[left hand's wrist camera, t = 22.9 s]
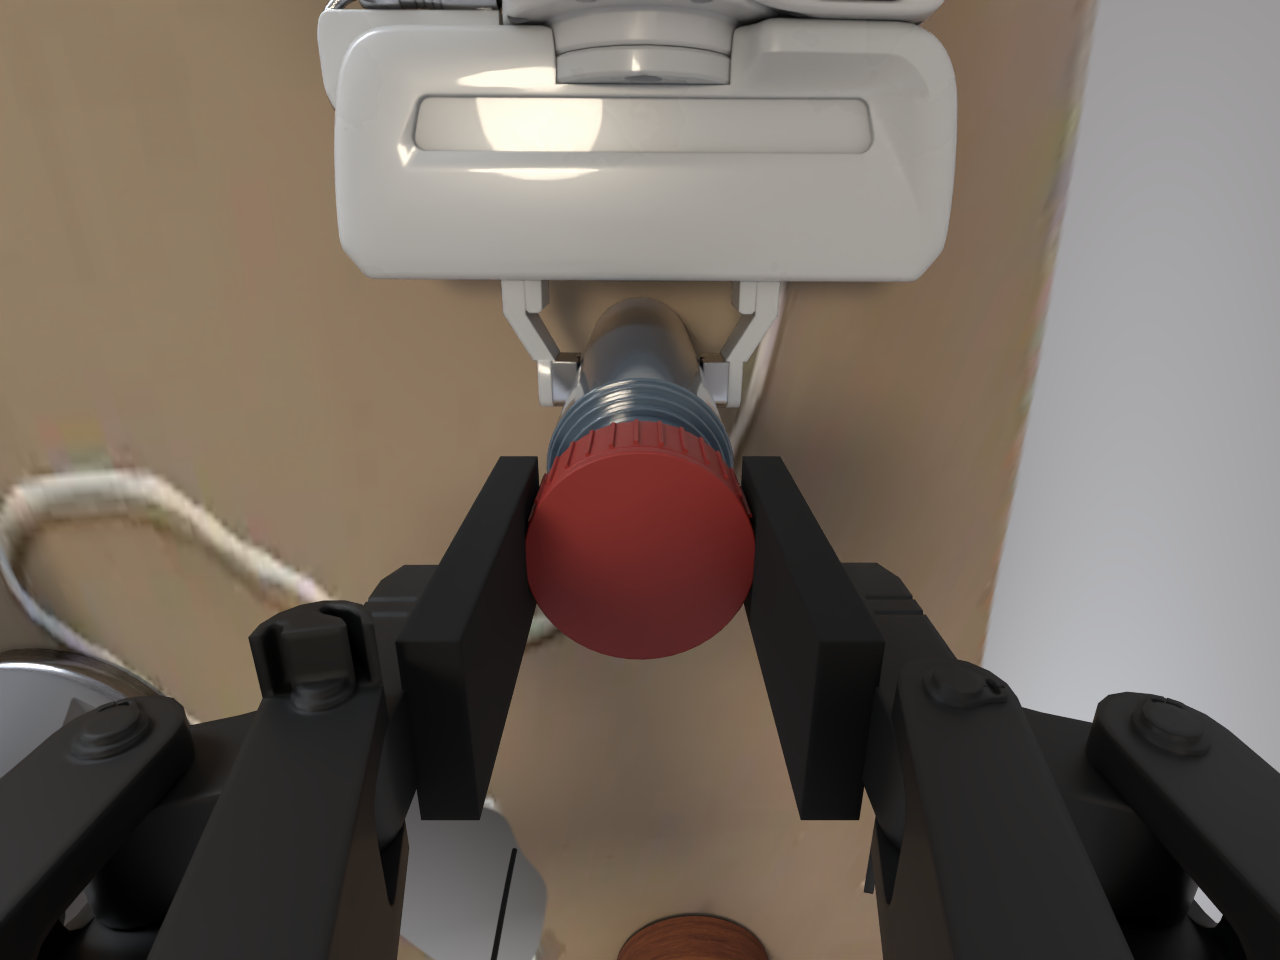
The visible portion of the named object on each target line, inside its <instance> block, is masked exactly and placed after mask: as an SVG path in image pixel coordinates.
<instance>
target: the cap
mask: <svg viewBox="0 0 1280 960" xmlns="http://www.w3.org/2000/svg"><path fill="white" fill-rule="evenodd" d="M751 517H752V514H751V512H750V509H749V506H748V503H747V501H746V498H745V495H744V492H743V490H742V487H741V486H739V484H738V481H737V478H736V475H735V473H734V470H733V468H732V467H731V468H729V467H728V466H727V464H726V463H725V462H724V460H723V458H722V455H721V453H720V452H719V451H717V452H716V451H715V450H714V449H713V448H712V447H710V446H709V445H708V444H707V443H705V441H704V438H702V437H700V438H698V437H696V436H695V435H693V434H691V433H689V432H687V431H685V430H684V428H683V427H681V426H680V428H678V427H674V426H671V425H667V424H663V423H662V421H657V422H650V421H639V420H638V419H634V421H632V422H622V423H618V424H616V423H615V422H613V423H611V425H609V426H606V427H603V428H601V429H598V430H595V431H594V429H593V430H590V432H589V434H588V435H586V436H584V437H582V438H581V439H579V440H578V441H577V442H575V441H572V442H571V443H570V447H569V448H568V449H567V450H566V451H565V452H564V453H562V455H561V456H560V457H559V456H556V458H555V460H554V463H553V465H552V468H551V470H550V471H549V473H548V474H546V473H545V474H544V476H543V479H542V482H541V484H540V487H539V490H538V492H537V495H536V498H535V501H534V505H533V508H532V511H531V513H530V516H529V519H528V525H529V526H528V529H527V533H526V537H525V548H526V563H527V578H528V584H529V587H530V590H531V592H532V594H533V596H534V598H535V600H536V602H537V604H538V606H539V607H540V609H541V610H542V612H543V613H544V615H545V616H546V617H547V618H548V619H549V620H550V621H551V622H552V624H553V625H554V626H555V627H557V628H558V629H559V630H560V631H561V632H562V633H563V634H565V635H566V636H568V637H569V638H571V639H572V640H573V641H575V642H577V643H579V644H580V645H582V646H584V647H586V648H588V649H591V650H593V651H596V652H599V653H601V654H605V655H609V656H613V657H618V658H626V659H655V658H662V657H667V656H672V655H675V654H678V653H682V652H685V651H687V650H689V649H692V648H694V647H696V646H698V645H700V644H702V643H703V642H705V641H707V640H708V639H710V638H712V637H713V636H714V635H715V634H717V633H718V632H719V631H721V630H722V629H723V628H724V627H725V626H726V625H727V624H728V623H729V622H730V621H731V620H732V619H733V617H734V616H735V615H736V613H737V612H738V611H739V610H740V608H741V606H742V604H743V603H744V601H745V599H746V598H747V595H748V593H749V591H750V588H751V586H752V582H753V570H754V555H755V536H754V531H753V528H752V525H751V522H750V519H749V518H751Z"/></svg>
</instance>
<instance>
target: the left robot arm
mask: <svg viewBox="0 0 1280 960" xmlns="http://www.w3.org/2000/svg"><path fill="white" fill-rule="evenodd" d="M741 487H742V490H743V492H744V495H745V498H746V501H747V503H748V506H749V509H750V512H751V514H752V517H751V518H749V519H750V522H751V525H752V528H753V531H754V536H755V555H754V570H753V582H752V586H751V588H750V591H749V593H748V595H747V598H746V599H745V601H744V606H745V610H746V614H747V618H748V621H749V625H750V629H751V633H752V637H753V640H754V644H755V648H756V652H757V656H758V659H759V663H760V667H761V671H762V674H763V678H764V682H765V686H766V690H767V693H768V697H769V701H770V705H771V709H772V712H773V716H774V720H775V724H776V728H777V731H778V735H779V739H780V743H781V747H782V750H783V754H784V758H785V762H786V766H787V769H788V773H789V777H790V781H791V785H792V788H793V792H794V796H795V800H796V804H797V807H798V811H799V815H800V819H801V820H859V818H860V811H861V804H862V797H863V791H864V787H865V789H866V792H867V794H868V797H869V800H870V802H871V805H872V807H873V810H874V812H875V815H876V817H875V824H874V830H873V836H872V843H871V849H870V855H869V861H868V868H867V874H866V881H865V887H864V892H865V893H870V894H873V891H874V886H875V889H876V898H877V907H878V916H879V925H880V934H881V943H882V952H883V960H1280V773H1278V772H1277V771H1276V770H1275V769H1274V768H1273V767H1271V766H1270V765H1269V764H1268V763H1267V762H1266V761H1264V760H1263V759H1262V758H1261V757H1260V756H1258V755H1257V754H1256V753H1255V752H1254V751H1253V750H1251V749H1250V748H1249V747H1248V746H1247V745H1246V744H1244V743H1243V742H1242V741H1241V740H1240V739H1239V738H1237V737H1236V736H1235V735H1234V734H1233V733H1231V732H1230V731H1229V730H1228V729H1226V728H1225V727H1223V726H1222V725H1221V724H1219V723H1218V722H1216V721H1215V720H1213V719H1212V718H1210V717H1209V716H1207V715H1206V714H1204V713H1202V712H1199V711H1197V710H1195V709H1193V708H1191V707H1189V706H1186V705H1185V704H1183V703H1181V702H1179V701H1176V700H1173V699H1170V698H1167V699H1166V698H1164V697H1162V696H1158V695H1153V694H1144V693H1134V692H1123V693H1117V694H1111V695H1108V696H1107V697H1105V698H1104V699H1103V700H1102V701H1100V702H1099V703H1098V706H1097V709H1096V713H1095V716H1094V720H1093V723H1091V722H1086V721H1081V720H1076V719H1071V718H1066V717H1061V716H1056V715H1052V714H1047V713H1042V712H1038V711H1034V710H1031V709H1027V708H1023V707H1021V704H1020V702H1019V700H1018V698H1017V696H1016V695H1015V694H1014V692H1013V691H1012V690H1011V688H1010V687H1009V686H1008V684H1007V683H1006V682H1004V681H1003V680H1001V679H1000V678H999V677H997V676H996V675H994V674H993V673H991V672H990V671H988V670H986V669H984V668H981V667H979V666H977V665H974V664H972V663H970V662H966V661H962V660H957V658H956V657H955V655H954V654H953V653H952V651H951V650H950V648H949V647H948V646H947V644H946V643H945V641H944V640H943V639H942V637H941V636H940V634H939V633H938V631H937V630H936V629H935V627H934V626H933V624H932V623H931V622H930V620H929V619H928V617H927V616H926V615H923V610H922V609H921V607H920V606H919V605H918V603H917V602H916V600H913V599H912V595H911V593H910V592H909V590H908V589H907V588H906V586H905V585H904V583H903V582H902V581H901V579H900V578H899V577H897V576H896V575H894V574H893V573H891V572H890V571H888V570H887V569H885V568H884V567H882V566H881V565H879V564H877V563H840V561H839V559H838V557H837V556H836V554H835V552H834V550H833V549H832V547H831V545H830V543H829V541H828V540H827V538H826V536H825V534H824V533H823V531H822V529H821V527H820V526H819V524H818V522H817V520H816V519H815V517H814V515H813V513H812V512H811V510H810V508H809V506H808V505H807V503H806V501H805V499H804V498H803V496H802V494H801V492H800V491H799V489H798V487H797V485H796V484H795V482H794V480H793V478H792V477H791V475H790V473H789V471H788V470H787V468H786V466H785V464H784V462H783V461H782V459H781V457H780V456H743V463H742V481H741ZM538 490H539V473H538V456H500V458H499V460H498V462H497V463H496V465H495V467H494V469H493V470H492V472H491V474H490V476H489V477H488V479H487V481H486V483H485V484H484V486H483V488H482V490H481V491H480V493H479V495H478V497H477V498H476V500H475V502H474V504H473V505H472V507H471V509H470V511H469V512H468V514H467V516H466V518H465V519H464V521H463V523H462V525H461V527H460V528H459V530H458V532H457V534H456V535H455V537H454V539H453V541H452V542H451V544H450V546H449V548H448V549H447V551H446V553H445V555H444V556H443V558H442V560H441V562H440V563H439V565H404V566H402V567H401V568H399V569H398V570H396V571H395V572H393V573H392V574H390V575H388V576H387V577H385V578H384V579H382V580H381V581H380V583H379V584H378V585H377V587H376V588H375V590H374V591H373V593H372V594H371V595H370V597H369V598H368V602H366V603H365V604H364V605H362V604H358V603H353V602H349V601H345V600H338V601H319V602H314V603H309V604H303V605H299V606H297V607H294V608H291V609H288V610H286V611H283V612H280V613H278V614H276V615H275V616H273V617H271V618H270V619H268V620H266V621H265V622H263V623H261V624H260V625H259V626H258V627H257V628H256V629H255V630H254V632H253V633H252V634H251V635H250V636H249V637H248V638H249V642H250V646H251V651H252V655H253V659H254V663H255V668H256V672H257V676H258V680H259V684H260V689H261V693H262V697H263V699H262V701H261V703H260V706H259V708H258V710H257V711H254V712H250V713H246V714H243V715H239V716H234V717H229V718H224V719H219V720H214V721H209V722H205V723H200V724H195V725H190V726H189V724H188V721H187V718H186V714H185V711H184V707H183V706H182V705H181V704H180V703H178V702H177V701H176V700H175V699H174V698H170V697H164V696H159V695H158V694H156V693H155V692H154V691H153V690H151V689H150V688H149V687H147V686H146V685H144V684H143V683H141V682H140V681H138V680H137V679H135V678H133V677H132V676H130V675H128V674H126V673H125V672H123V671H121V670H118V669H116V668H114V667H112V666H110V665H108V664H105V663H103V662H100V661H97V660H94V659H91V658H88V657H85V656H82V655H78V654H73V653H69V652H63V651H58V650H48V649H16V650H9V651H3V652H0V960H397V954H398V945H399V936H400V927H401V918H402V908H403V899H404V890H405V881H406V872H407V863H408V854H409V844H408V837H407V830H406V824H405V817H406V814H407V812H408V809H409V807H410V804H411V802H412V799H413V797H414V794H415V791H416V789H417V794H418V801H419V808H420V815H421V820H480V817H481V813H482V809H483V805H484V801H485V798H486V794H487V790H488V786H489V782H490V779H491V775H492V771H493V767H494V763H495V760H496V756H497V752H498V748H499V745H500V741H501V737H502V733H503V729H504V726H505V722H506V718H507V714H508V710H509V707H510V703H511V699H512V695H513V691H514V688H515V684H516V680H517V676H518V672H519V669H520V665H521V661H522V657H523V653H524V650H525V646H526V642H527V638H528V634H529V631H530V627H531V623H532V619H533V615H534V612H535V608H536V604H537V602H536V600H535V598H534V596H533V594H532V592H531V590H530V587H529V584H528V578H527V563H526V548H525V537H526V533H527V529H528V526H529V525H528V519H529V516H530V513H531V511H532V508H533V505H534V501H535V498H536V495H537V492H538ZM516 854H517V849H516V848H513V849H512V852H511V857H510V862H509V866H508V871H507V876H506V881H505V886H504V891H503V896H502V901H501V907H500V912H499V917H498V923H497V928H496V933H495V939H494V944H493V949H492V955H491V960H497V956H498V951H499V945H500V939H501V934H502V928H503V923H504V917H505V911H506V906H507V900H508V895H509V889H510V884H511V879H512V874H513V869H514V864H515V859H516ZM1198 886H1199V888H1200V889H1201V890H1202V891H1203V892H1204V893H1205V894H1206V896H1207V897H1208V898H1209V899H1210V900H1211V901H1212V903H1213V904H1214V905H1215V906H1216V907H1217V908H1218V910H1219V911H1220V912H1221V913H1222V914H1223V916H1222V918H1221V921H1220V922H1219V923H1216V922H1214V921H1213V920H1212V919H1211V918H1210V917H1209V916H1208V915H1207V914H1206V913H1205V912H1204V911H1203V910H1202V908H1201V907H1200V906H1199V905H1198V904H1197V902H1196V901H1195V900H1194V896H1195V894H1196V891H1197V889H1198Z"/></svg>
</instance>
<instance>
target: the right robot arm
mask: <svg viewBox="0 0 1280 960" xmlns="http://www.w3.org/2000/svg"><path fill="white" fill-rule="evenodd" d="M354 1H356V0H329V2H328V3H327V4H326V6H325V8H324V10H323V12H322V13H321V14H320V16H319V20H318V27H317V39H318V46H319V54H320V61H321V68H322V76H323V83H324V87H325V90H326V93H327V96H328V99H329V101H330V103H331V105H332V107H333V109H334V110H335V137H334V162H335V190H336V206H337V219H338V229H339V238H340V242H341V246H342V248H343V250H344V252H345V253H346V255H347V256H348V257H349V258H350V259H351V260H352V261H353V263H354V264H355V265H356V266H357V267H358V268H359V269H360V270H361V271H362V272H363V274H364V275H365V276H367V277H369V278H371V279H446V280H501V287H502V302H503V314H504V316H505V317H506V319H507V320H508V322H509V323H510V325H511V326H512V328H513V329H514V331H515V333H516V334H517V336H518V337H519V339H520V340H521V342H522V343H523V345H524V347H525V348H526V350H527V351H528V353H529V354H530V356H531V357H532V359H533V361H537V367H538V388H539V402H540V406H546V407H554V406H564V404H565V402H566V399H567V396H568V394H569V391H570V389H571V386H572V384H573V381H574V379H575V376H576V374H577V371H578V368H579V366H580V363H581V353H568V352H560V350H559V349H558V347H557V345H556V343H555V342H554V340H553V338H552V337H551V335H550V333H549V331H548V330H547V328H546V326H545V325H544V323H543V321H542V320H541V318H540V316H539V314H538V313H540V312H541V311H542V310H543V309H544V308H545V307H546V306H547V305H548V304H549V280H627V281H732V305H733V306H734V307H735V308H736V309H737V310H738V311H739V312H740V313H741V314H743V315H742V317H741V318H740V320H739V322H738V323H737V325H736V327H735V328H734V330H733V332H732V333H731V335H730V336H729V338H728V340H727V341H726V343H725V345H724V346H723V348H722V350H721V351H720V352H721V353H699V363H700V365H701V368H702V370H703V373H704V375H705V378H706V381H707V383H708V386H709V388H710V391H711V393H712V396H713V398H714V401H715V403H716V406H717V407H723V408H726V407H730V408H739V406H740V402H741V390H742V374H743V362H747V361H748V359H749V358H750V356H751V355H752V353H753V352H754V350H755V349H756V347H757V346H758V344H759V343H760V341H761V340H762V338H763V337H764V335H765V334H766V332H767V331H768V329H769V328H770V326H771V325H772V323H773V322H774V320H775V318H776V317H777V315H778V303H779V291H780V281H808V282H912V281H915V280H917V279H918V278H919V277H921V276H922V275H923V273H924V272H925V271H926V270H927V269H928V268H929V267H930V266H931V265H932V263H933V262H934V261H935V260H936V259H937V257H938V256H939V255H940V254H941V252H942V250H943V248H944V245H945V242H946V237H947V232H948V227H949V220H950V212H951V205H952V196H953V186H954V175H955V161H956V144H957V87H956V79H955V74H954V69H953V66H952V63H951V60H950V57H949V55H948V53H947V51H946V49H945V48H944V46H943V45H942V43H941V42H940V41H939V40H938V39H937V38H936V37H935V36H934V35H933V34H932V33H931V32H929V31H928V30H926V29H924V28H922V27H920V25H921V24H922V23H923V22H924V21H926V20H927V19H928V18H929V17H930V16H931V15H932V14H933V13H934V12H935V11H936V10H937V9H938V8H939V7H940V6H941V5H942V3H943V2H944V1H945V0H359V3H360V4H361V6H362V7H363V8H365V9H343V8H345V7H346V6H347V5H348V4H350V3H351V2H354ZM406 9H409V10H406ZM418 9H425V10H418ZM427 9H428V10H427ZM501 11H502V14H503V15H502V14H501Z"/></svg>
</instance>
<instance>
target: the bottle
mask: <svg viewBox="0 0 1280 960" xmlns="http://www.w3.org/2000/svg"><path fill="white" fill-rule="evenodd" d="M634 419H638V420H639V421H650V422H657V421H662V423H663V424H667V425H671V426H674V427H678V428H680V426H681V427H683V428H684V430H685V431H687V432H689V433H691V434H693V435H695V436H696V437H698V438H700V437H702V438H704V441H705V443H707V444H708V445H709V446H710V447H712V448H713V449H714V450H715V451H716V452H717V451H719V452H720V453H721V455H722V458H723V460H724V462H725V463H726V464H727V466H728V467H729V468H731V467H732V468H733V469H734V460H733V452H732V447H731V443H730V439H729V437H728V434H727V431H726V429H725V426H724V424H723V421H722V419H721V416H720V414H719V411H718V409H717V406H716V403H715V401H714V398H713V396H712V393H711V391H710V388H709V386H708V383H707V381H706V378H705V375H704V373H703V370H702V368H701V365H700V363H699V360H698V358H697V355H696V353H695V350H694V347H693V345H692V342H691V340H690V337H689V335H688V332H687V330H686V327H685V325H684V323H683V322H682V320H681V318H680V317H679V316H678V315H677V313H676V312H674V311H673V310H672V309H671V308H670V307H668V306H667V305H665V304H664V303H662V302H659V301H657V300H654V299H650V298H631V299H626V300H623V301H621V302H619V303H616V304H615V305H613V306H612V307H610V308H609V309H608V310H607V311H606V312H605V313H604V314H603V315H602V316H601V317H600V319H599V320H598V322H597V324H596V326H595V328H594V330H593V333H592V335H591V338H590V340H589V343H588V345H587V348H586V351H585V353H584V356H583V358H582V361H581V363H580V366H579V368H578V371H577V374H576V376H575V379H574V381H573V384H572V386H571V389H570V391H569V394H568V396H567V399H566V402H565V404H564V407H563V409H562V412H561V414H560V417H559V419H558V422H557V424H556V427H555V430H554V432H553V435H552V438H551V441H550V444H549V449H548V454H547V474H548V473H549V471H550V470H551V468H552V465H553V463H554V460H555V458H556V456H559V457H560V456H561V455H562V453H564V452H565V451H566V450H567V449H568V448H569V447H570V443H571V442H572V441H575V442H577V441H578V440H579V439H581V438H582V437H584V436H586V435H588V434H589V432H590V430H593V429H594V431H595V430H598V429H601V428H603V427H606V426H609V425H611V423H613V422H615V423H616V424H618V423H622V422H632V421H634Z"/></svg>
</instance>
